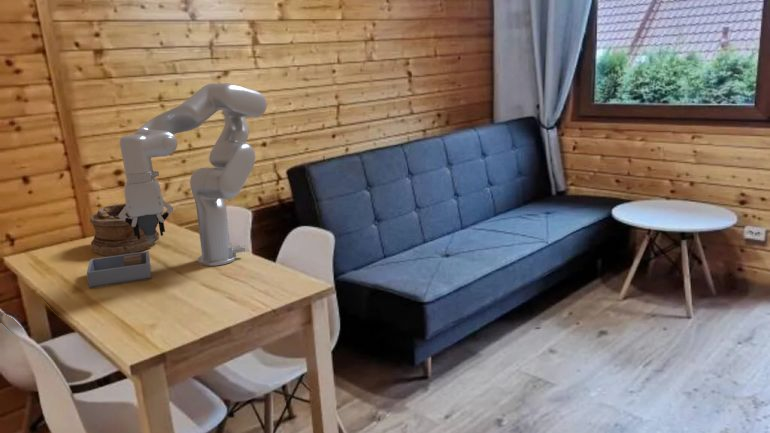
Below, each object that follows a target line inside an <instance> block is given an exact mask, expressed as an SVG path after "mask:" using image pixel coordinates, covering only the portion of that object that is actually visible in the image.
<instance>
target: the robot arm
mask: <svg viewBox="0 0 770 433" xmlns="http://www.w3.org/2000/svg"><path fill="white" fill-rule="evenodd" d="M267 106H268V104H267V100H266V97H265V96H264V95H263V94H262V93H261V92H259V91H257V90H254V89H250V88H247V87H244V86H240V85H236V84H233V83H227V82H226V83H215V82H214V83H213V82H212V83H207V84H205V85H203V86H202V87H201V88H200V89H198V90H197V91H196V92H195V93H194V94H192V95H191V96H190V97H188V98H187V99H186V100H184V101H183V102H182V103H181V104H179V105H177V106H175V107H173V108H171V109H169V110H167V111H165V112H162V113H160V114H158V115H156V116H154V117H151V119H149V120H148V121H146V122H145V123H144V124H142V125H141V126H140V127H139V128H138V129H137V130H136V131H135V132H134V134H128V135H127V134H126V135H123V136H121V138H120V139H119V145H120V152H121V157H122V162H123V167H124V168H123V169H124V174H125V179H126V182H125V183H124V198H125V199H124V200H125V203H126V206H125V207H124V208H123V210H122V211H121V212H120V214H119V218H120V219H122V220H124V221H126V222H127V223H128V224H130V225H132V227H133V229H134V234H135V236H137V238H138V239H140V231H139V226H138V224H137V219H138V217H141V216H144V215H156V216H157V217H158V219H159V222H158V227H159V228H158V229H159V236H161V237H163V236H164V233H166V229H165V223H164V222H165V220H167V218H168V217H169V216H170V215H171V214H172V212H173V211H174V207H173V206H172V205H171V204H170V203H168V202H167V201H165V200H164V199H163V194H162V190H161V187H160V183H159V181H158V179H157V178H156V177H159V176H160V173H159V171H155V170H154V168H153V163H152V158H156V157H166V156H170V155H172V154H173V153H174V152H175V151H176V149H177V148H178V138H177V137H176V136H175V135H176V134H179V133H186V132H190V131H192V130H195V129H198V128H199V127H201V126H202V125H203V124H204V123H205V122H206V121H208V120H209V119H210V118H211V117H212V116H213V115H215V114H216V113H217V112H219V111H222V113H223V118H224V127H223V129H222V131H221V133H220V135H219V136H218V138H217V140H216V141H215V143H214V145H213V147H212V148H211V150H210V153H209V157H208V159H209V160H208V161H209V163H210V165H211V166H212V167H199V168H198V169H196V170H194V171H193V172H192V174H191V176H190V181H189V182H190V183H189V186H190V190H191V193H192V196H193V199H194V203H195V208H196V214H197V215H196V218H197V225H198V233H199V240H200V250H201V255H199V257H198V258H197V262H198V264H199V265H201V266H206V267H214V266H216V267H217V266H222V265H227V264H229V263H232V262H234V261H235V260H236V259H237V253H244V252H245V253H246V248H245V245H244V246H240V245H235V246H233V245H232V244H231V238H230V230H229V229H230V228H229V222H228V221H229V220H228V211H227V205H226V203H225V200H233V199H235V198H236V197H237V196H238V195H239V194H240V192H241V191H242V189H243V187H244V186H245V184H246V181H248V178H249V176H250V174H251V172H252V171H253V169H254V167H255V163H256V153H255V150H254V148H253V147H252V146H251V145H250V144H249V143H247V140H248V139H249V134H250V133H249V132H250V131H249V128H248V127H249V126H248V124H247V120H246V118H259V117H261V116H263V115H264V114H265V113H266V111H267ZM165 209H166V211H165ZM126 212H127V213H128V216H129V217H133V219H131V218H129V217H127V216H125V214H126ZM162 213H163V214H162Z"/></svg>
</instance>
